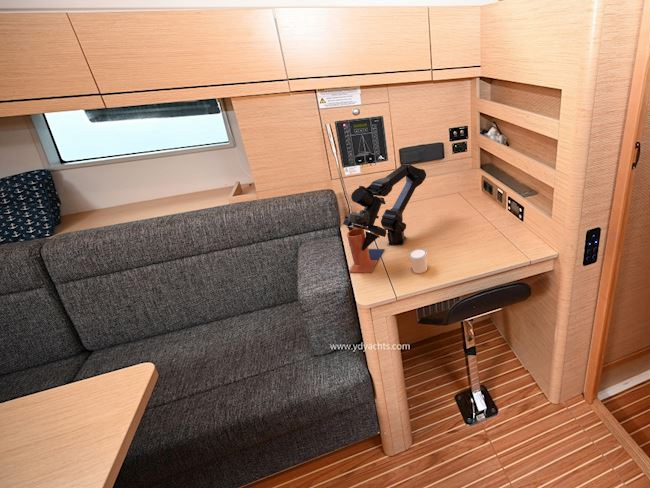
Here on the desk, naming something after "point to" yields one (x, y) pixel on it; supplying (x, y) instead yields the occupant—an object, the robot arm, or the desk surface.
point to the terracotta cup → (358, 246)
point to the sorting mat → (371, 264)
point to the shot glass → (418, 260)
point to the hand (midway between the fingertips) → (356, 248)
